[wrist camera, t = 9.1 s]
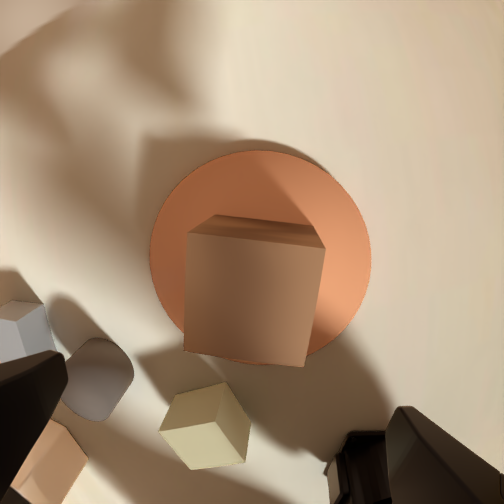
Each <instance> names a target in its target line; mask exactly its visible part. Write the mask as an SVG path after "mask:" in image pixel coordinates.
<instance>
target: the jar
mask: <svg viewBox="0 0 504 504" xmlns="http://www.w3.org/2000/svg"><path fill="white" fill-rule="evenodd" d="M87 461H88V457H87V456H86V454H85V453H84V452H83V451H82V449H81V448H80V447H79V445H78V444H77V443H76V441H75V440H74V438H73V437H72V436H71V434H70V433H69V431H68V430H67V428H66V427H64V426H63V425H61V424H59V423H57V422H55V421H53V420H51V419H50V420H49V422H48V424H47V425H46V427H45V429H44V430H43V432H42V433H41V435H40V437H39V438H38V440H37V441H36V443H35V445H34V446H33V448H32V450H31V451H30V453H29V455H28V456H27V458H26V460H25V461H24V463H23V465H22V466H21V468H20V470H19V471H18V473H17V475H16V477H15V478H14V480H13V482H12V484H11V485H10V487H9V489H8V491H7V493H6V494H5V496H4V498H3V500H2V502H1V504H61V503H62V502H63V500H64V498H65V497H66V495H67V494H68V492H69V490H70V489H71V487H72V486H73V484H74V482H75V481H76V479H77V477H78V476H79V474H80V473H81V471H82V469H83V468H84V466H85V465H86V463H87Z"/></svg>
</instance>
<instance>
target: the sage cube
mask: <svg viewBox="0 0 504 504" xmlns="http://www.w3.org/2000/svg"><path fill="white" fill-rule="evenodd" d="M250 427H251V421H250V420H249V418H248V417H247V415H246V413H245V412H244V410H243V409H242V407H241V406H240V404H239V402H238V401H237V399H236V397H235V396H234V394H233V393H232V391H231V389H230V388H229V386H228V384H227V383H226V382H223V383H220V384H216V385H212V386H209V387H205V388H201V389H197V390H193V391H189V392H185V393H180V394H176V395H175V397H174V399H173V401H172V403H171V405H170V407H169V410H168V412H167V414H166V416H165V418H164V420H163V422H162V425H161V427H160V429H159V431H158V432H159V433H160V434H161V436H162V437H163V438H164V439H165V441H166V442H167V443H168V444H169V445H170V447H171V448H172V449H173V450H174V451H175V453H176V454H177V455H178V456H179V457H180V458H181V460H182V461H183V462H184V463H185V464H186V465H187V466H188V467H189V469H190V470H196V469H205V468H212V467H220V466H226V465H233V464H239V463H244V462H245V461H246V454H247V447H248V440H249V434H250Z"/></svg>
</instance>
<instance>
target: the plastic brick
mask: <svg viewBox="0 0 504 504" xmlns="http://www.w3.org/2000/svg"><path fill="white" fill-rule="evenodd" d="M47 350H54V351H57V350H56V347H55V343H54V340H53V337H52V333H51V330H50V326H49V323H48V319H47V315H46V311H45V307H44V304H40V303H31V302H22V301H13V300H11V301H10V302H8V303H6V304H4V305H3V306H1V307H0V362H1V363H4V362H8V361H11V360H15V359H18V358H22V357H26V356H29V355H33V354H36V353H40V352H43V351H47Z"/></svg>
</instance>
